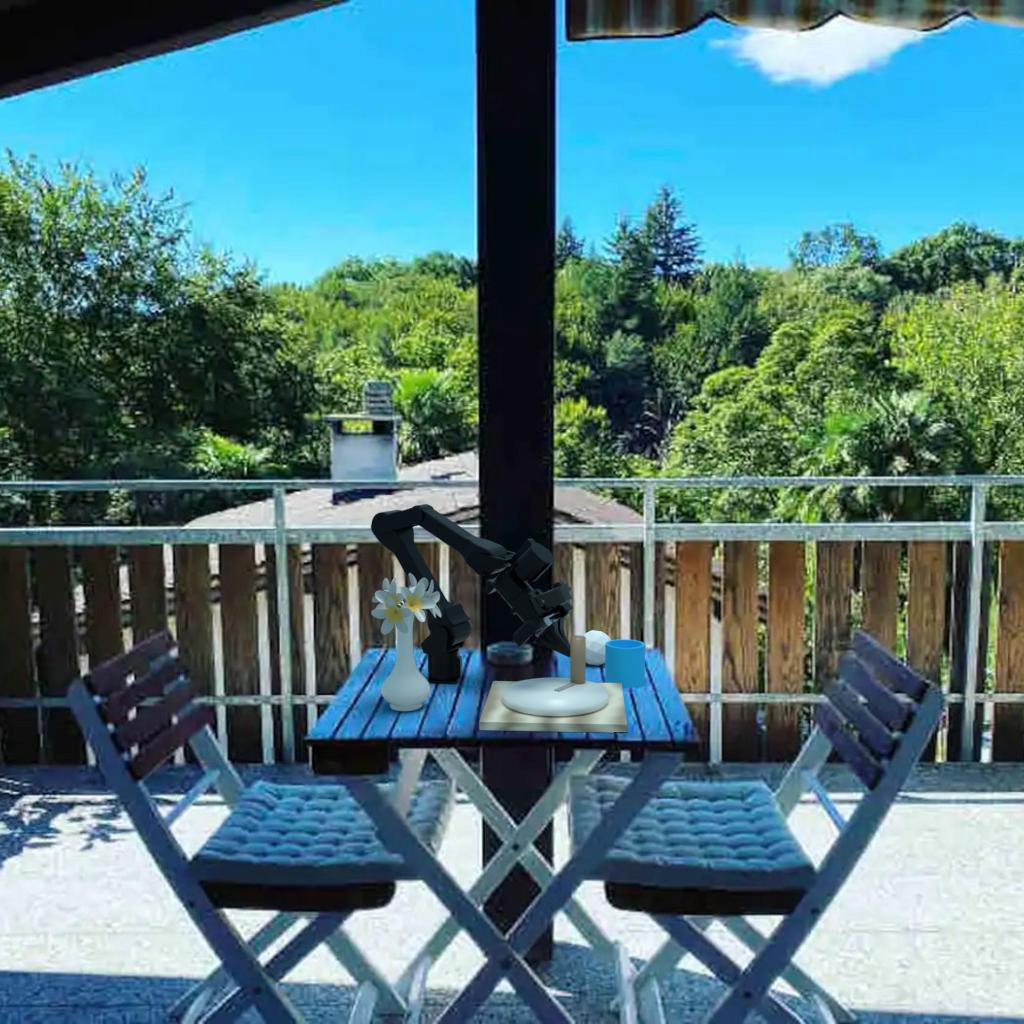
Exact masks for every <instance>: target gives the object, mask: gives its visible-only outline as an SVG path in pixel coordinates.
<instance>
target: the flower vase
mask: <svg viewBox="0 0 1024 1024" xmlns="http://www.w3.org/2000/svg"><path fill="white" fill-rule="evenodd" d="M409 579H410V581H409V583H410V582H411V583H410V585H409V587H407V586H399V585H398V584H397V579H396V577H394V578H393V579H392V581H391V583H390V582H389V578H387V577H385V578H384V579H383V581H382V584H381V587H382V590H376V591H375V593H374V596H373V597H372V599H371V602H372V603H378V604H376V606H375V609H373V610H372V611H371V612H370V613H371V616H373V617H374V618H376V619H379V620H382V619H383V622H382V624H381V625H380V626H381V627H380V633H381V634H382V635H388V634H390V632H392V630H393V629H394V627H396V635H397V637H396V645H397V646H396V657H395V658H396V659H395V663H394V666H393V668H392V671H391V673H390V674H388V676H387V677H386V678H385V680H384V681H383V683H382V685H381V695H382V697H383V699H384V700H385V701H386V702H387V703H389V708H390V709H391V710H393V711H397V712H411V711H417V710H420V709H421V708H422V707H423V702H424V701H426V699H427V698H428V697H429V696H430V693H431V686H430V682H428V680H427V678H426V677H425V675H423V674H422V672H420V670H419V668H418V666H417V662H416V660H415V659H416V658H415V651H414V621H415V618H416V619H417V620H418V621H419V622H420V623H424V622H426V620H427V615H426V613H425V611H424V610H426V609H429V610H430V611H431V612H432V614H433V615H434V617H435V618H436V614H437V615H438V616H439V617H440V618H441V612H440V610H439V608H438V606H437V605H436V603H437V602H438V601H439V599H440V593H439V592H438V591H436V592H434V593H432V592H433V589H434V583H433V580H431V584H430V587H429V590H428V591H426V592H425V590H426V589H427V587H428V580H427V579H426V578H422V579H421V580H420V581H419V582H418V584H417V581H416V579H415V577H414V576H413V575H412V574H411V573H409ZM409 579H408V580H409ZM416 584H417V585H416ZM435 613H436V614H435Z"/></svg>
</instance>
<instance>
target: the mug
mask: <svg viewBox="0 0 1024 1024" xmlns="http://www.w3.org/2000/svg"><path fill="white" fill-rule="evenodd" d="M610 640H611V641H608V642H606V643H605V663H604V666H605V667H604V673H605V675H604V678H605V679H604V680H605V681H604V683H621V684H622V689H623V688H624V689H628V688H629V689H632V688H638V687H641V686H644V685H645V683H646V678H645V677H646V676H645V675H646V674H645V673H646V672H645V671H646V670H645V669H646V665H645V664H646V644H645V642H643V641H641V640H636V639H628V638H627V639H626V638H625V639H624V638H623V639H610Z"/></svg>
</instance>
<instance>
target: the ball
mask: <svg viewBox="0 0 1024 1024" xmlns="http://www.w3.org/2000/svg"><path fill="white" fill-rule="evenodd" d="M582 636H585V637H586V664H588V665H592V666H598V667H599V666H601V665H603V664H605V643H606V642H608V641H611V640H612V639H611V638H610V636H609V635H607V634H606V633H605V632H603V631H600V630H594V629H591V630H590V631H588V632H585V633H584V634H582Z"/></svg>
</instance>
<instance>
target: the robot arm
mask: <svg viewBox="0 0 1024 1024" xmlns="http://www.w3.org/2000/svg"><path fill="white" fill-rule="evenodd" d="M417 526H419V527H421V528H422V529H424V530H425V531H426V532H428V533H429V534H431V535H432V536H434V537H435V538H437V539H438V540H439V541H441V542H443V543H444V544H445V545H447V546H449V547H450V548H452V549H453V550H454V551H456V552H457V553H458V554H460V555H461V557H462V559H463V560H464V562H465V564H466V565H467V566H468V567H469V568H470V569H471V570H472V571H473V572H474V573H476V574H477V575H479V576H480V577H481V576H482V577H486V576H490V575H494V574H496V573H499V574H497V576H495V577H494V578H490V579H488V580H486V583H485V584H486V586H485V594H486V595H487V596H488V595H490V594H492V593H495V592H497V593H498V594H499V595H500V596H501V598H502V599H503V600H504V601H505V603H507V605H508V606H509V607H510V609H509V611H508V612H509V613H510V614H511V616H515V615H517V616H518V617H519V619H520V620H521V621H522V622H523V623H522V625H521V626H519V627H518V629H516V631H514V633H512V641H513V643H514V644H515V645H516V646H517V647H518V648H519V649H520V648H521V647H523V646H525V645H526V644H527V641H528V640H529V639H530V638H531V637H532V636H533V635H534V636H536V637H535V639H534V640H533V641H532V643H533V644H537V645H540V646H543V647H544V648H548V649H550V650H552V651H554V652H556V653H558V654H561V655H562V656H565V657H567V658H570V641H569V640H568V638H567V636H566V633H565V630H564V621H565V619H566V617H567V616H568V615H569V614H570V613H572V611H573V610H574V608H573V606H572V605H571V604H570V602H569V600H572V598H573V597H572V595H571V593H570V592H571V591H572V588H571V586H569V585H568V583H565V582H564V581H563V580H559V581H557V582H554V583H552V587H551V588H552V589H550V590H548V591H545V592H543V591H542V590H541V589H540V588H536V589H534V588H532V586H531V585H530V583H528V582H536V581H537V580H538V579H539V578H540V577H541V575H543V574H544V573H545V572H546V571H547V570H548V569H549V568H550V567H551V565H553V563H555V558H554V555H553V554H552V552H551V551H550V550H549V548H546V547H545V546H544V545H542V544H541V543H538V542H536V541H535V540H534V539H533V538H528V539H526V540H525V541H524V542H523V544H522V546H521V547H520V548H519V549H518V550H517V551H516V552H514V551H510V550H507V549H506V547H504V546H503V545H502V544H499V543H496V542H494V541H492V540H490V539H486V538H483V537H478V536H476V535H474V534H473V533H470V532H469V531H468V530H466V529H465V528H464V527H461V526H460V525H459V524H457V523H456V522H454V521H453V520H451V519H450V518H448V517H447V516H445V515H443V514H442V513H441V512H439V511H437V510H436V509H435V508H434V507H433V506H432V505H431V504H428V503H424V504H415V505H414V506H411V507H409V508H407V509H403V510H400V509H394V510H387V511H381V512H377V513H376V514H375V515H374V516H373V517H372V519H371V524H370V530H371V532H372V534H373V535H374V537H375V538H376V539H377V541H378V542H379V543H380V545H382V546H383V547H384V548H386V549H387V550H388V551H390V552H391V553H393V554H394V556H395V558H396V559H397V561H398V563H399V565H400V567H401V568H402V569H401V570H402V571H403V572H404V574H405V577H407V579H408V580H409V583H410V584H411V582H410V579H409V573H411V574H412V575H413V576H414V577H415V579H416V581H417V584H418V582H419V581H420V580H421V579H422V578H426V579H427V580H428V587H427V589H426V590H425V592H426V591H428V590H429V587H430V584H431V580H433V583H434V589H433V592H432V593H434V592H436V591H438V592H439V593H440V599H439V601H438V602H437V603H436V605H437V606H438V608H439V610H440V612H441V618H440V617H439V616H438V615H437V614H436V613H435V614H436V618H435V617H434V615H433V614H432V612H431V611H430V610H429V609H425V610H426V611H425V612H426V620H427V621H426V622H427V623H426V624H427V628H428V630H429V633H430V634H428V636H427V637H426V638H425V639H424V640H423V641H422V642H421V643H420V647H421V651H422V653H423V654H424V655H425V654H426V655H427V678H426V679H427V680H428V682H429V683H433V684H434V683H436V684H437V683H440V684H442V683H443V684H445V683H447V684H452V683H453V684H457V683H458V682H459V679H461V678H462V675H463V657H462V656H461V655H460V649H461V648H464V645H465V642H466V640H468V638H469V637H470V634H471V630H472V627H471V623H470V621H469V620H471V618H470V617H469V616H468V615H467V613H466V612H465V610H464V607H463V605H462V603H460V602H459V603H456V604H452V603H451V602H450V601H449V600H448V599H447V598H446V596H445V593H444V592H443V591H442V588H440V585H439V583H438V581H437V579H436V578H435V576H434V575H433V573H432V571H431V570H430V568H429V566H428V564H427V562H426V561H425V559H424V557H423V556H422V554H421V552H420V551H419V549H418V547H417V545H416V543H415V529H414V527H417ZM507 567H510V568H509V569H508V570H506V571H505V569H506V568H507ZM417 584H416V585H417Z"/></svg>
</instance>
